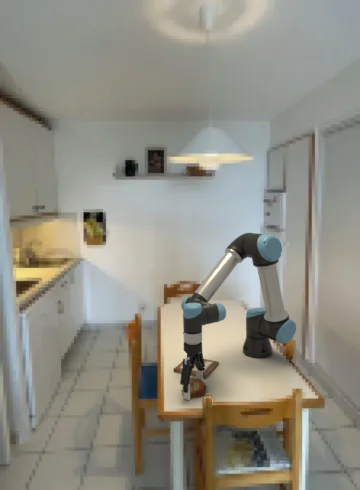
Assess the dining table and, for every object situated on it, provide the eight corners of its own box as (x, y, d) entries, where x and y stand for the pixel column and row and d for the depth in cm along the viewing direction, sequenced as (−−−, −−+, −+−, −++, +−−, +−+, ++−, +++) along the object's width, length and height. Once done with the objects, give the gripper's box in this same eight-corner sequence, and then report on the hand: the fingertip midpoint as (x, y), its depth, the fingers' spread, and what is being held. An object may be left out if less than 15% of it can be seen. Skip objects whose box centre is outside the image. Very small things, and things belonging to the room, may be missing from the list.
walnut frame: (218, 364, 181) (218, 361, 181) (205, 378, 167) (205, 375, 167) (188, 358, 188) (188, 355, 188) (173, 372, 174) (173, 368, 174)
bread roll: (185, 395, 160) (177, 379, 159) (206, 384, 161) (198, 368, 159) (187, 407, 151) (178, 391, 150) (210, 396, 151) (201, 379, 150)
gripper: (196, 330, 165) (196, 377, 167) (170, 350, 144) (171, 404, 146) (212, 333, 162) (212, 381, 164) (188, 353, 140) (189, 408, 143)
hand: (193, 392), depth 155 cm, fingers open, 12 cm apart
